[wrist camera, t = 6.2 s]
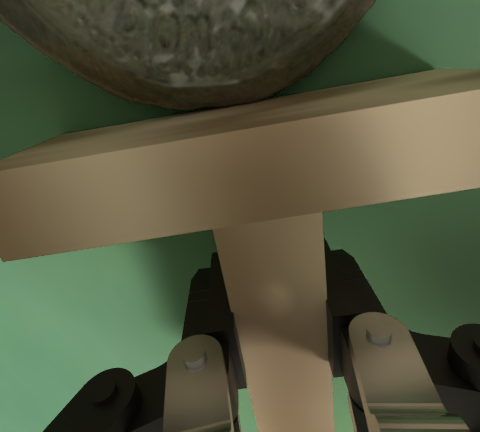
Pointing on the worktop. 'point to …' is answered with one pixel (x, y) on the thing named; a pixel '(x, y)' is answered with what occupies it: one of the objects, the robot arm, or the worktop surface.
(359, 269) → the robot arm
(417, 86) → the wooden pusher
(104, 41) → the lid
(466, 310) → the worktop surface
